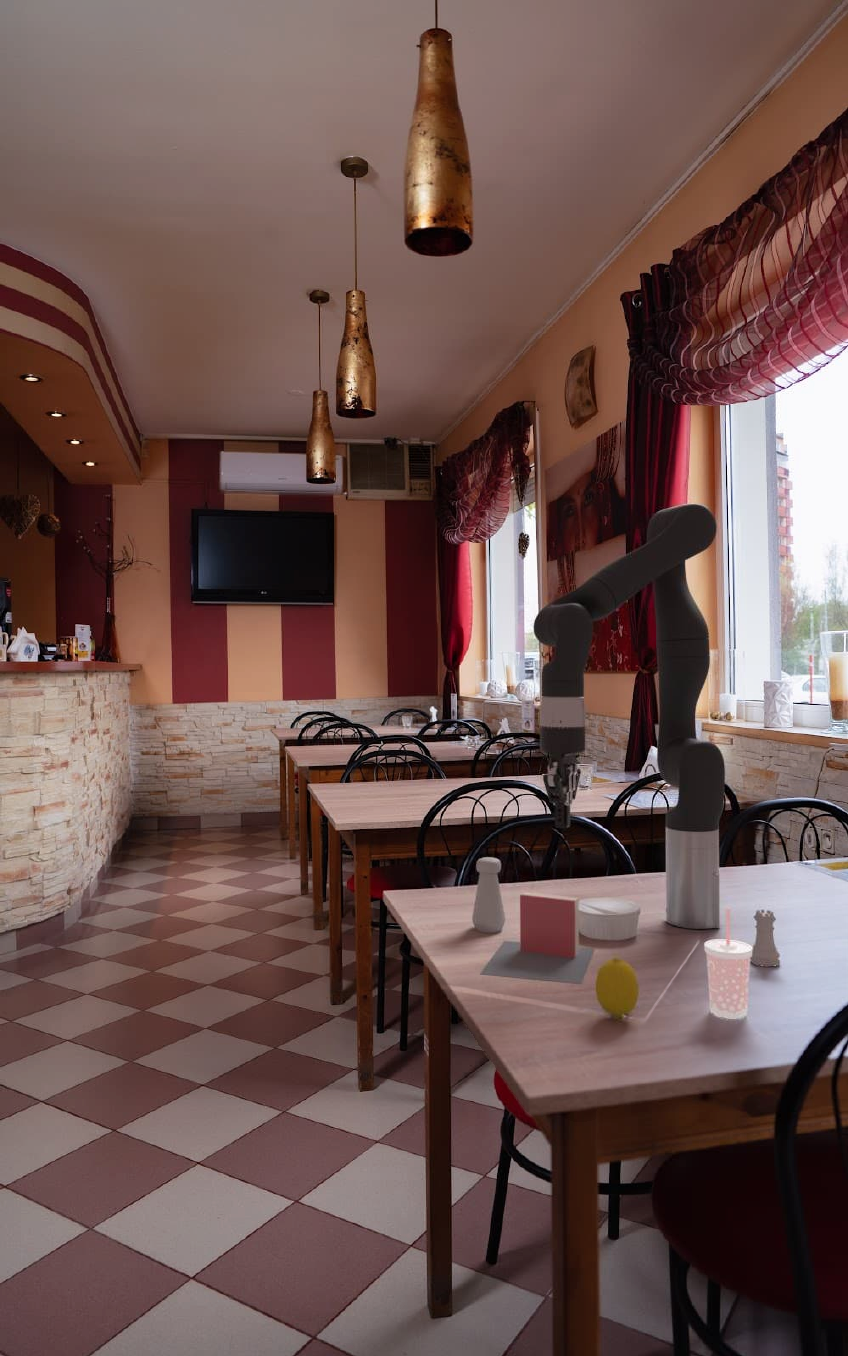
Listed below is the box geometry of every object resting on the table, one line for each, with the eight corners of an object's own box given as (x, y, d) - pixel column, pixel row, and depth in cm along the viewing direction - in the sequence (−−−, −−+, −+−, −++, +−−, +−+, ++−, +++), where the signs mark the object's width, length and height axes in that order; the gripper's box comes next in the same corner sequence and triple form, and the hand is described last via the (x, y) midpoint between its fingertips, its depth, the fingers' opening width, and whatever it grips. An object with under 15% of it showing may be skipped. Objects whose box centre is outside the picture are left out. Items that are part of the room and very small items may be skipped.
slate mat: (594, 952, 144) (594, 948, 144) (581, 987, 128) (581, 983, 128) (504, 944, 149) (504, 940, 149) (479, 977, 133) (479, 973, 133)
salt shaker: (503, 938, 152) (503, 862, 152) (470, 936, 154) (469, 861, 153) (507, 928, 158) (506, 855, 158) (475, 926, 159) (474, 854, 159)
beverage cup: (706, 1001, 122) (705, 900, 122) (753, 1008, 120) (753, 904, 120) (702, 1018, 117) (701, 911, 117) (751, 1024, 114) (751, 916, 114)
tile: (525, 946, 146) (525, 891, 146) (578, 954, 142) (578, 897, 141) (520, 950, 144) (520, 895, 143) (574, 958, 139) (573, 901, 139)
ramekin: (568, 941, 151) (567, 910, 151) (581, 924, 161) (581, 895, 161) (635, 948, 146) (635, 916, 146) (644, 930, 157) (644, 900, 157)
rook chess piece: (766, 969, 136) (766, 917, 136) (743, 961, 140) (743, 910, 139) (786, 964, 138) (786, 913, 138) (763, 956, 142) (763, 906, 142)
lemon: (590, 1011, 119) (590, 951, 119) (631, 1009, 120) (630, 950, 120) (602, 1027, 114) (602, 965, 114) (644, 1025, 114) (644, 963, 114)
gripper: (571, 726, 141) (571, 835, 141) (596, 722, 153) (595, 823, 153) (527, 725, 144) (527, 831, 145) (554, 721, 156) (554, 820, 156)
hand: (562, 827), depth 149 cm, fingers closed
